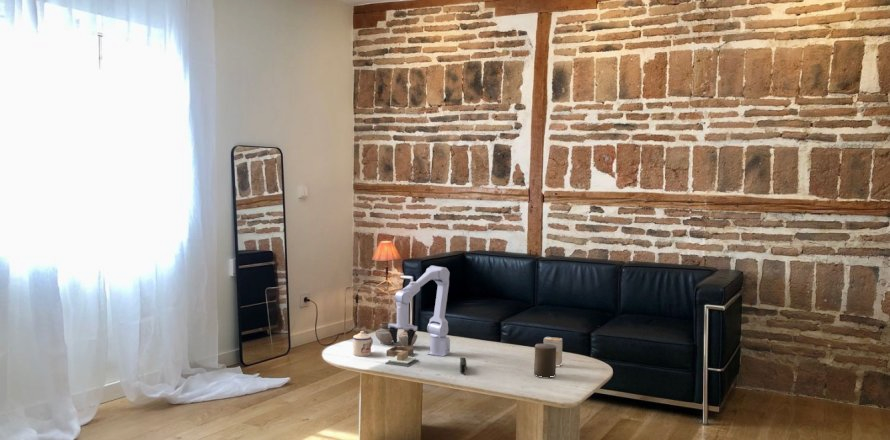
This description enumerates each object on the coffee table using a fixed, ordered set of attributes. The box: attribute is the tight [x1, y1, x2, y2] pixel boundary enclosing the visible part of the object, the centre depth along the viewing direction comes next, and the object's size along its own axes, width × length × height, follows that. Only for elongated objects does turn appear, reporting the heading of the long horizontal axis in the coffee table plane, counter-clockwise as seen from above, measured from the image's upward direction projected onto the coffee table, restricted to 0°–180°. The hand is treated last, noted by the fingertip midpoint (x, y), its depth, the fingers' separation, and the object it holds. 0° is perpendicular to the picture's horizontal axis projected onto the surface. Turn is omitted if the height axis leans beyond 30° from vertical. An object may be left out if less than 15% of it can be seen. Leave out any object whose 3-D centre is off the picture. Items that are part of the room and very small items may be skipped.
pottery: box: [374, 321, 418, 349], centre depth 389 cm, size 11×25×12 cm, turn 57°
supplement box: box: [543, 336, 563, 365], centre depth 355 cm, size 8×5×13 cm, turn 65°
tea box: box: [386, 345, 414, 358], centre depth 371 cm, size 10×10×3 cm
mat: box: [385, 358, 420, 368], centre depth 357 cm, size 12×12×1 cm
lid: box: [387, 351, 417, 364], centre depth 357 cm, size 10×10×4 cm
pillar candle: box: [533, 343, 557, 377], centre depth 338 cm, size 10×10×15 cm
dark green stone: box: [459, 357, 468, 376], centre depth 344 cm, size 5×3×15 cm
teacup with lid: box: [352, 330, 374, 357], centre depth 371 cm, size 12×9×12 cm
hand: (402, 344), depth 356 cm, fingers open, 7 cm apart
